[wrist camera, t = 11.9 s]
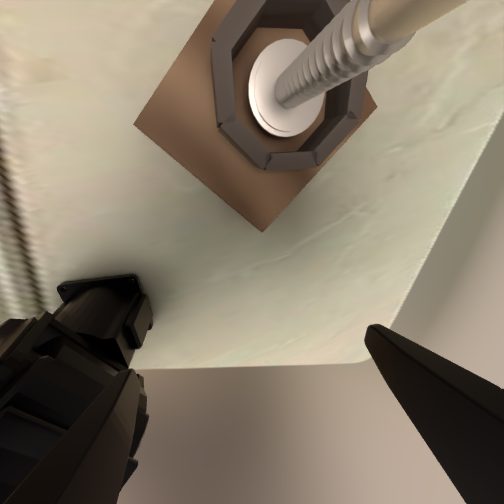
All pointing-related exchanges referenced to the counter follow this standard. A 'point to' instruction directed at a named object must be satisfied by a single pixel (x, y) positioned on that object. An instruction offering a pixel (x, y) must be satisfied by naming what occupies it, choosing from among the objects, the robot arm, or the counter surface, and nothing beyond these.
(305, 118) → the screw
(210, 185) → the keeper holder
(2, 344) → the robot arm
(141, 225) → the counter surface
